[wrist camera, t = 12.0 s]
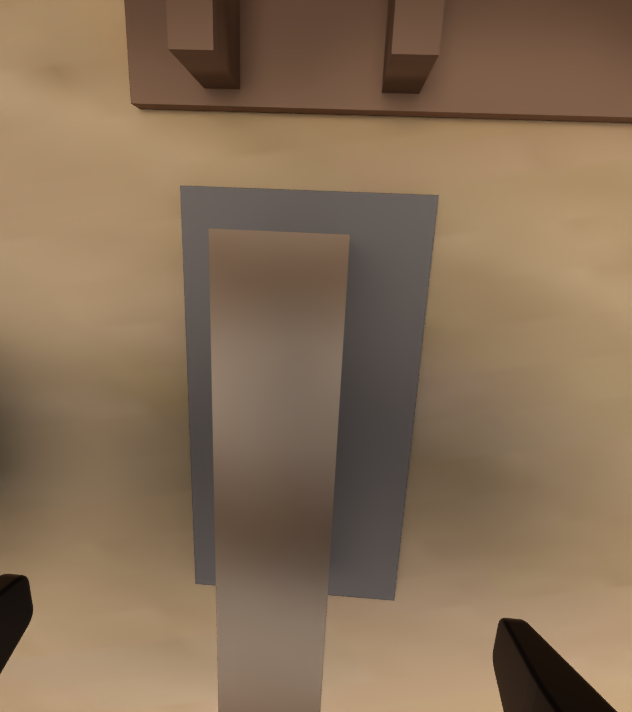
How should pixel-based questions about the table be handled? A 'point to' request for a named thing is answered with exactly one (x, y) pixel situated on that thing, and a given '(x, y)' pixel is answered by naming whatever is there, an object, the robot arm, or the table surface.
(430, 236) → the slate mat
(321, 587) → the plywood sheet
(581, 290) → the table surface
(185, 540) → the table surface
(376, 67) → the offcut rack
